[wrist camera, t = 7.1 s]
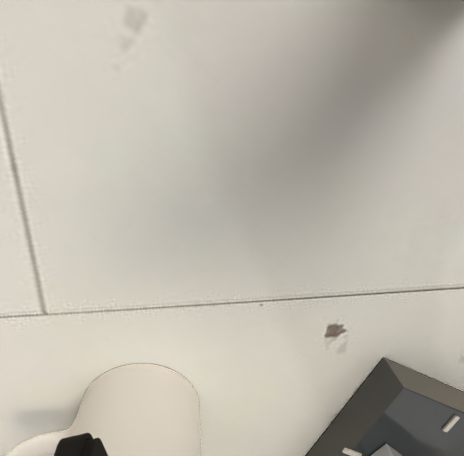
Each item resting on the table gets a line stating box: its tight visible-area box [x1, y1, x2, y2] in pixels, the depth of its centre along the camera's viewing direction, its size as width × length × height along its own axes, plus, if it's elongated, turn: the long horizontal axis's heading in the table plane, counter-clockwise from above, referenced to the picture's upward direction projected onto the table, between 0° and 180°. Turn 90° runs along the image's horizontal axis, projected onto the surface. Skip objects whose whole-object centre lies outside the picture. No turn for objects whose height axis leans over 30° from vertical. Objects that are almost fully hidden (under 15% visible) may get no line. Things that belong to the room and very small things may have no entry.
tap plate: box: [306, 358, 464, 456], centre depth 31 cm, size 12×11×3 cm
